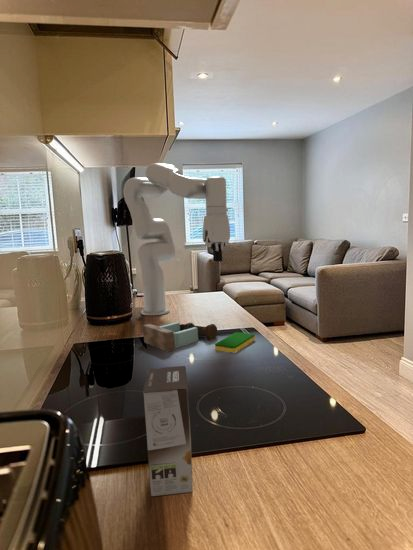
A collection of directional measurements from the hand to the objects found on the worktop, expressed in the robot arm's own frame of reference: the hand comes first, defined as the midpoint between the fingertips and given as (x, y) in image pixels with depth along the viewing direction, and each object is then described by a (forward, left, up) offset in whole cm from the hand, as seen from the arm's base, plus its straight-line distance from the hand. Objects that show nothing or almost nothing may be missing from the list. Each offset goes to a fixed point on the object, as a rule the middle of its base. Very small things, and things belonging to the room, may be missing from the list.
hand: (217, 261), depth 141 cm
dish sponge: (+21, -13, -25) cm, 35 cm away
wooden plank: (+3, -30, -25) cm, 39 cm away
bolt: (+4, -15, -25) cm, 29 cm away
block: (+3, -23, -25) cm, 34 cm away
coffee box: (+58, -64, -25) cm, 90 cm away
